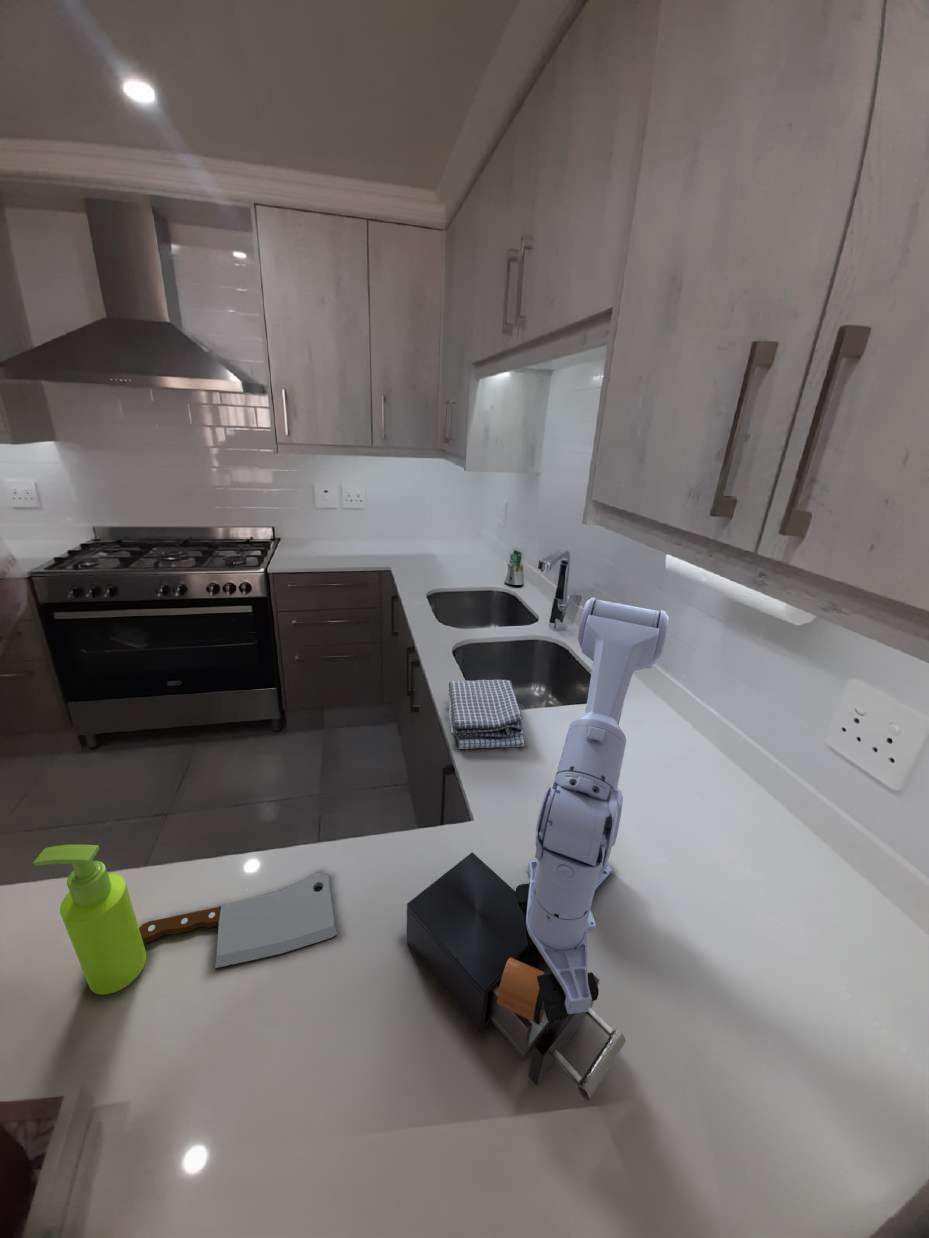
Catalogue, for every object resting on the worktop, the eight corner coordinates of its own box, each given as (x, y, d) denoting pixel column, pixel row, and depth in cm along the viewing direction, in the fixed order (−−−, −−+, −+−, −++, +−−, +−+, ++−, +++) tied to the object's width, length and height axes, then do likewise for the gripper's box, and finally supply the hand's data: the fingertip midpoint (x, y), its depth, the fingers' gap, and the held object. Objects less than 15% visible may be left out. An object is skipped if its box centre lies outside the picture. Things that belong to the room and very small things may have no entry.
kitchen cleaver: (121, 990, 56) (144, 907, 65) (123, 994, 57) (146, 912, 65) (337, 937, 64) (332, 869, 72) (337, 941, 64) (333, 873, 72)
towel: (508, 700, 117) (511, 672, 114) (525, 750, 101) (529, 719, 97) (445, 701, 115) (447, 673, 112) (452, 752, 99) (454, 721, 96)
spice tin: (502, 968, 51) (544, 987, 49) (513, 949, 55) (553, 966, 53) (494, 1014, 50) (536, 1034, 48) (505, 991, 54) (545, 1009, 53)
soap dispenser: (96, 944, 61) (55, 829, 53) (155, 942, 62) (124, 828, 54) (67, 996, 56) (16, 877, 48) (131, 993, 57) (92, 875, 49)
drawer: (627, 1045, 54) (638, 1015, 52) (574, 1132, 48) (583, 1102, 45) (511, 930, 65) (515, 901, 63) (454, 988, 59) (457, 958, 56)
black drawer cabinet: (542, 960, 63) (549, 922, 60) (479, 1032, 55) (484, 992, 52) (469, 888, 72) (472, 851, 68) (406, 941, 64) (406, 903, 61)
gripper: (633, 964, 42) (606, 1050, 47) (576, 829, 55) (559, 909, 60) (555, 974, 41) (536, 1061, 46) (515, 834, 54) (504, 914, 59)
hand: (545, 975), depth 53 cm, fingers open, 7 cm apart
